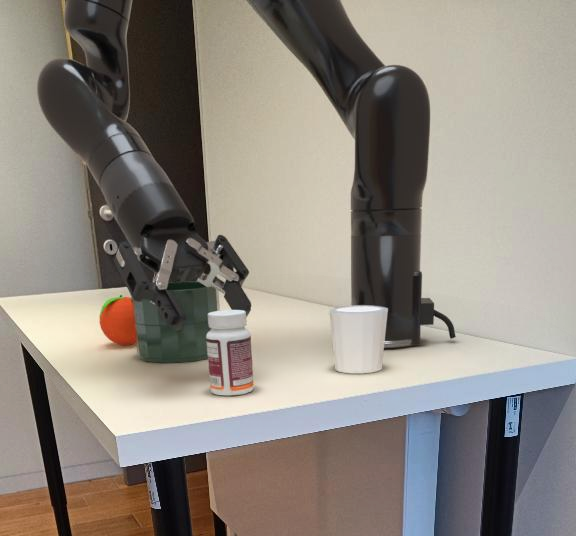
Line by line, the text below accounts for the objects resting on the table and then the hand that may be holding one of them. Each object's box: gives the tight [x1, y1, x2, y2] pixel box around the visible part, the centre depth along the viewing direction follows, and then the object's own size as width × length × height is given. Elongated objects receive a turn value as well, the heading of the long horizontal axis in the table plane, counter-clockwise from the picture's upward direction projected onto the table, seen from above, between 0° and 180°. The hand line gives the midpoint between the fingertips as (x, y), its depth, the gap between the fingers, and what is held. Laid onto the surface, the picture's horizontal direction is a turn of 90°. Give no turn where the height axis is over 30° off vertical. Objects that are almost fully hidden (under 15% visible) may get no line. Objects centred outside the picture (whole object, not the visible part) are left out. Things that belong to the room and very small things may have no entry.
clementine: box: [99, 294, 136, 346], centre depth 109 cm, size 8×7×7 cm
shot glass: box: [328, 305, 388, 375], centre depth 89 cm, size 7×7×7 cm
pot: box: [129, 281, 221, 364], centre depth 101 cm, size 11×11×9 cm
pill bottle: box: [206, 309, 255, 397], centre depth 80 cm, size 5×5×8 cm
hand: (214, 320), depth 80 cm, fingers open, 8 cm apart
